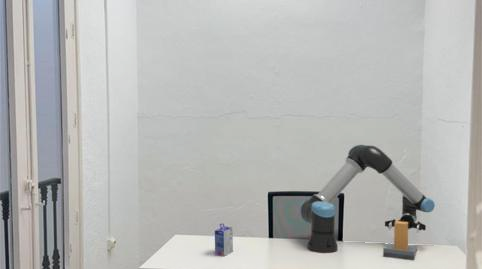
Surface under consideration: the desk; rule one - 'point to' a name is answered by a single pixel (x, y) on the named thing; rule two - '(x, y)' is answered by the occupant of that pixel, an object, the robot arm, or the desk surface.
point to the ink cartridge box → (223, 240)
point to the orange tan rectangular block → (401, 235)
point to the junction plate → (400, 252)
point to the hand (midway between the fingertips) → (403, 228)
